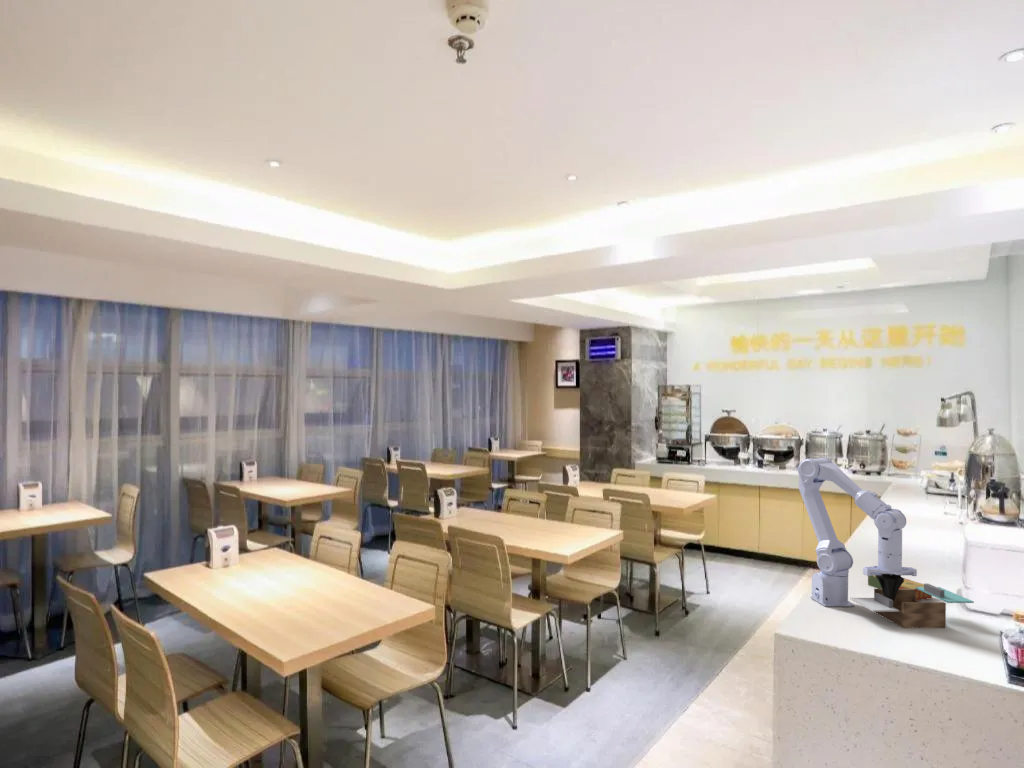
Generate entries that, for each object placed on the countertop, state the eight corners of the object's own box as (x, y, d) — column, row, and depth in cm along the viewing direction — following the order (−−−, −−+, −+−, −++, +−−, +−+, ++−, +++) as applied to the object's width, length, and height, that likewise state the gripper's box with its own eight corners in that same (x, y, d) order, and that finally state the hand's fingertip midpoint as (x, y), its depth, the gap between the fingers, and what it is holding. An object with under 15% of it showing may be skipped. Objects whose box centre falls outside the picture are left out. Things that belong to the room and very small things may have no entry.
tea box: (903, 628, 160) (903, 603, 160) (873, 611, 172) (874, 588, 172) (945, 628, 161) (945, 603, 161) (913, 611, 173) (913, 588, 173)
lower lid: (872, 611, 161) (872, 602, 161) (850, 599, 171) (850, 590, 171) (898, 611, 161) (898, 602, 161) (874, 599, 171) (874, 590, 171)
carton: (913, 602, 182) (913, 588, 182) (867, 586, 198) (867, 573, 198) (932, 599, 185) (932, 586, 185) (885, 583, 200) (885, 571, 200)
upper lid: (948, 602, 161) (948, 594, 161) (915, 588, 173) (915, 580, 173) (973, 602, 162) (973, 594, 162) (939, 588, 173) (939, 580, 174)
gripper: (874, 556, 162) (874, 605, 162) (925, 556, 163) (924, 605, 163) (858, 549, 169) (857, 597, 169) (906, 550, 170) (906, 597, 170)
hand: (889, 600), depth 166 cm, fingers closed
